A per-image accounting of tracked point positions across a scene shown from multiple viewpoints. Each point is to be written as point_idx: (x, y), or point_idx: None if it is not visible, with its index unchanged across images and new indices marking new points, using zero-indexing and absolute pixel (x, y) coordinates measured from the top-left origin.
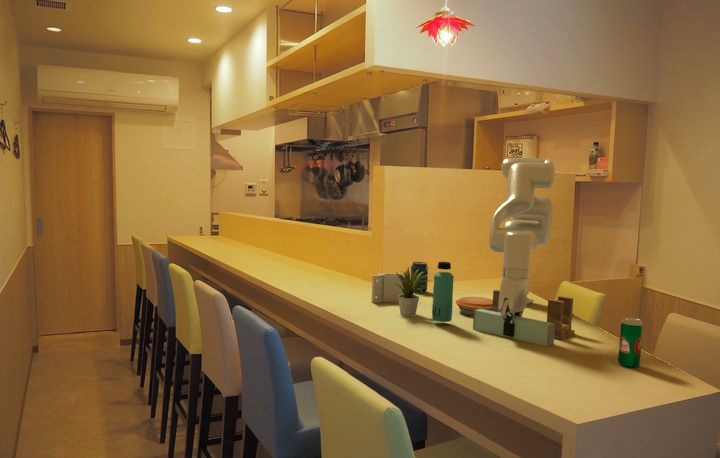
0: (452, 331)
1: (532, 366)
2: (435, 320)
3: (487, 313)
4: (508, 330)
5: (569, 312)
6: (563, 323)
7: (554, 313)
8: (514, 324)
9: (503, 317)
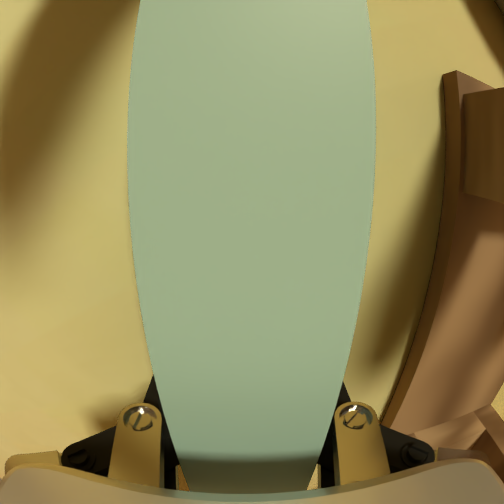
0: (51, 18)
1: (24, 450)
2: None
3: (132, 164)
4: None
5: None
6: (471, 448)
7: None
8: None
9: (61, 453)
